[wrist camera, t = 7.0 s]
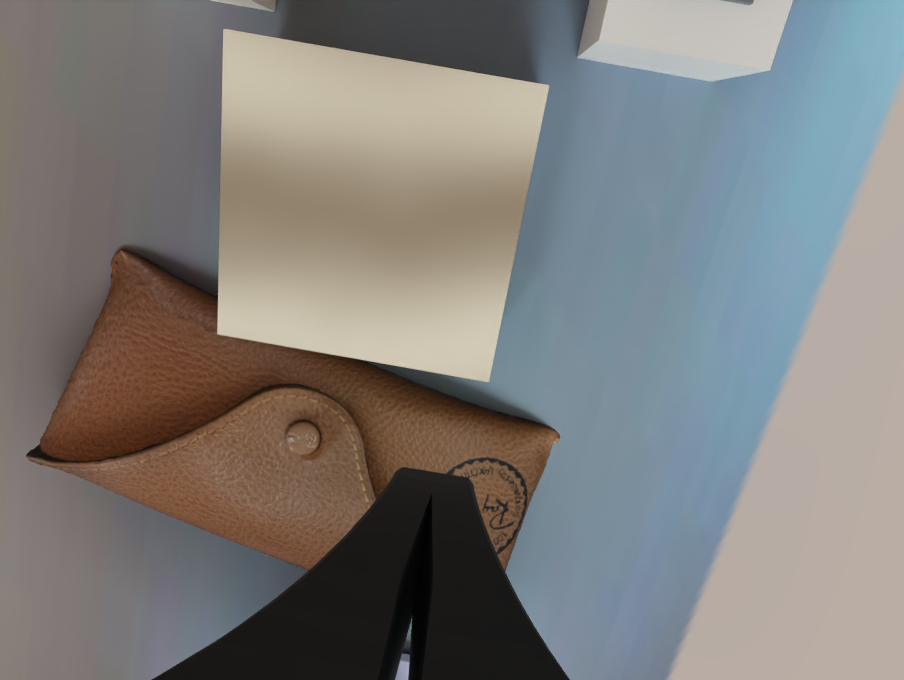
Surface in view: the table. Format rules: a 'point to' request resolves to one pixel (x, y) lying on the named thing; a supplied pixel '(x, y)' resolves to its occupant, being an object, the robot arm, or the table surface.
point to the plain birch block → (370, 203)
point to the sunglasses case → (266, 427)
